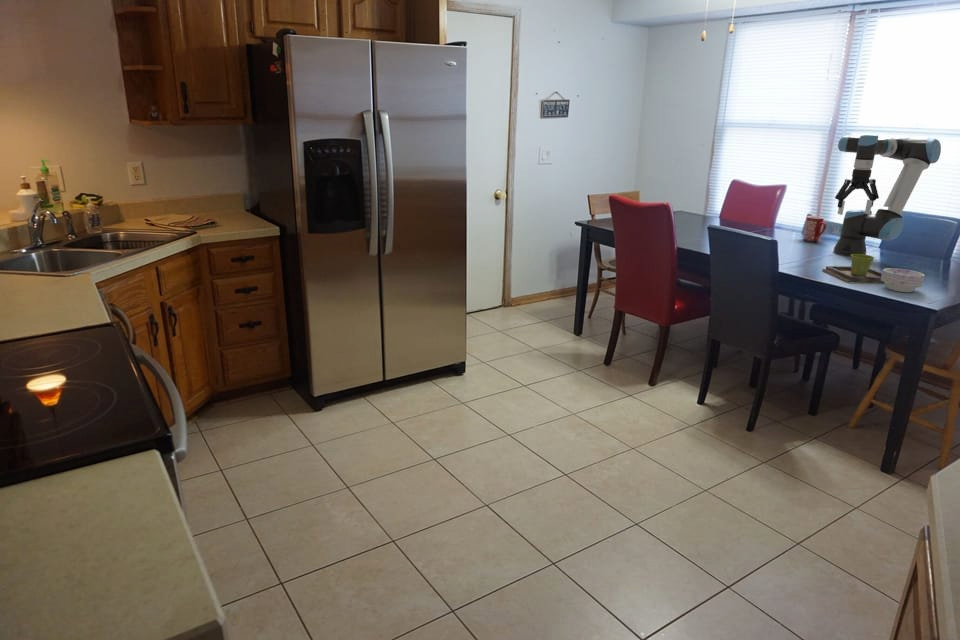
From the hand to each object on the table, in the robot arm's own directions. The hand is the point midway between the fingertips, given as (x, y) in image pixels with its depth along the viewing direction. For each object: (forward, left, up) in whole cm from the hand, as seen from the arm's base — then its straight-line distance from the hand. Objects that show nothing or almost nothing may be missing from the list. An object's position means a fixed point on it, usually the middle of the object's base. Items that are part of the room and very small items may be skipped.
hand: (853, 214), depth 303 cm
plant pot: (+6, +23, -24) cm, 34 cm away
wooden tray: (+6, +23, -25) cm, 34 cm away
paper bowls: (0, +43, -25) cm, 50 cm away
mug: (-17, -57, -25) cm, 65 cm away
